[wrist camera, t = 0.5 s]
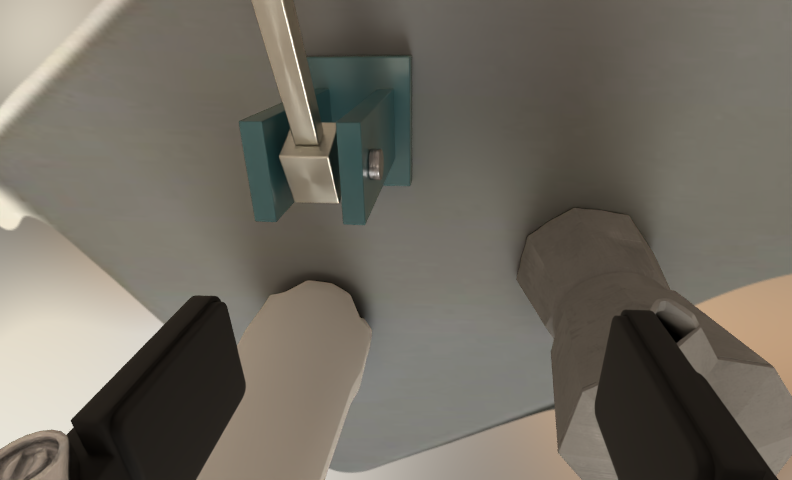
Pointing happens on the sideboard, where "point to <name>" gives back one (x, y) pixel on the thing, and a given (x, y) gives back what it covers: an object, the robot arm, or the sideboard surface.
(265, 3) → the ball knob lever
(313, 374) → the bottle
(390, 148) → the teal lever mount
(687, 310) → the coffeepot
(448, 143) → the sideboard surface
